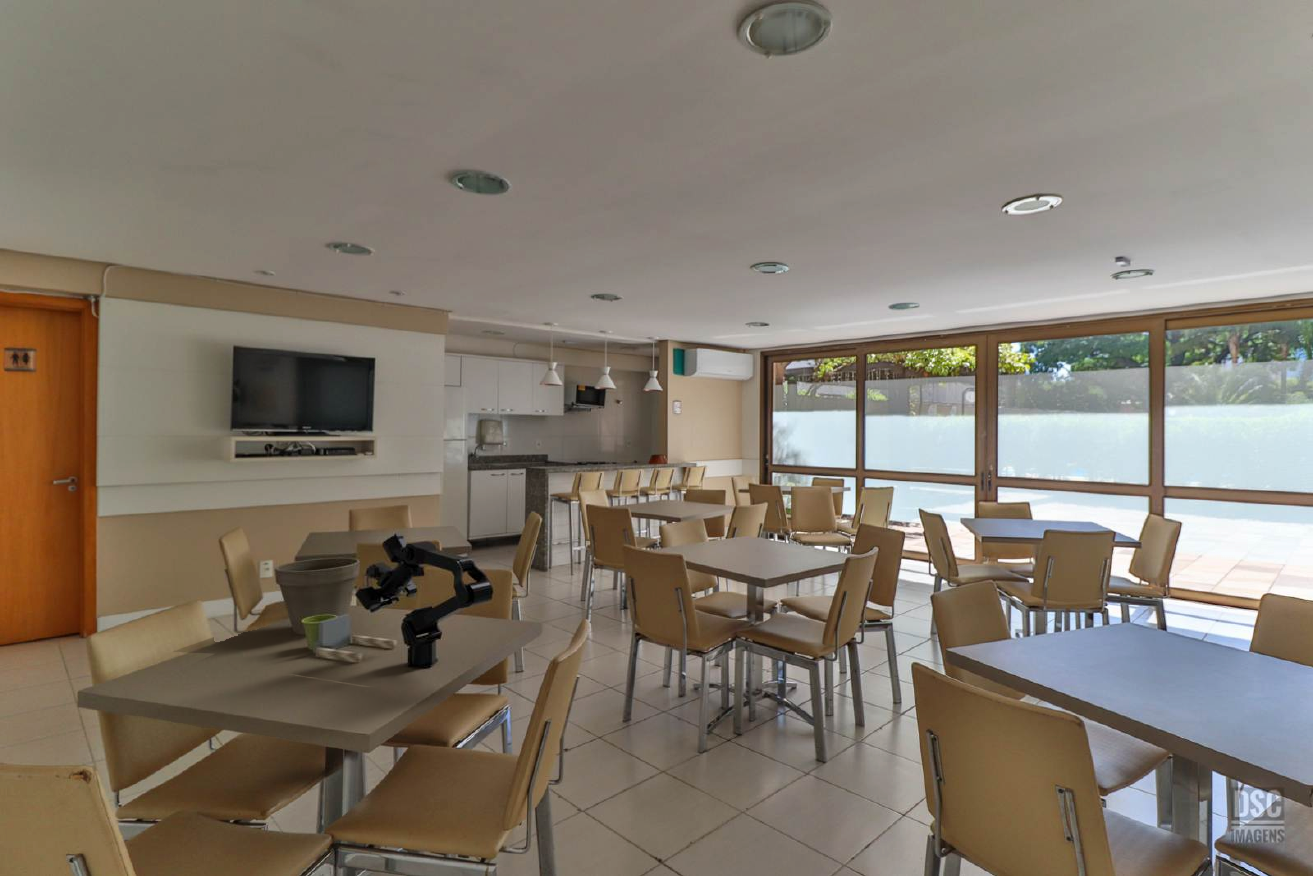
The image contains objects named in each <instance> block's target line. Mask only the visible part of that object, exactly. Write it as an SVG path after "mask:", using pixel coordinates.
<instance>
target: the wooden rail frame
mask: <svg viewBox="0 0 1313 876" xmlns="http://www.w3.org/2000/svg"><path fill="white" fill-rule="evenodd" d="M351 637H352V644H354V645H360V646H368V647H376V648H383V649H391V650H395V649H398V640H397V639H390V638H389V639H388V638H381V637H373V636H367V635H366V636H365V635H358V634H354V635H352V636H351ZM315 657H316V658H321V659H322V658H323V659H329V660H337V661H343V662H352V663H362V662H363V653H362V652H355V651H347V650H339V649H336V650H335V649H327V648H320V647H319V648H316V653H315Z"/></svg>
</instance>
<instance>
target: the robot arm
mask: <svg viewBox="0 0 1313 876" xmlns="http://www.w3.org/2000/svg"><path fill="white" fill-rule="evenodd" d="M381 547H382V548H383V549H384V552H385V553H386V555H387V557H388V558H389V560H390V562H391V563H397V565H396V566H395V567H394V568H392V566H390V565H388V564H387V563H385V562H381V561H380V562H375V563H372V564H370V565H369V566H368V567H367V568H366V570H365V576H367V577H368V578H371V579H374V580H376V581H377V582H376V585H377V586H378V587H379V588H378V587H376V588H374V587H373V585H367V586H364V587H359V588H358V589H357V591H356V592H355V597H356V598H357V599H358V601H359V602H360V604H361V605H362V607H363V608H364V609H365V610H367V611H369V612H370V613H371V614H373V613H377V612H378V611H380V610H382V609H384V608H386V607H388V606H391V605H394V604H396V603H398V602H400V599H399V597H401V596H403V594H404V593H406V595H405V597H406V598H407V599H408V598H409V599H410V598H412V597H414V596H415V595H416V594H417V593H418V588H417V586H416V584H415V583H414V582H413V581H412V580H413V578H418V577H419V578H420V577H425V571H424V566H422V565H428V566H431V567H435V568H438V569H441V570H445V571H448V572H451V574H452V575H453V589H454V591H455V592H454V596H452V597H449V598H448V599H447V600H444V601H442V602H441V603H439V604H438V605H435V606H434V607H433V606H432V605H430V606H424V607H421V608H420V607H419V608H415V609H413V610H412V611H410V612H409V613H406V614H405V617H404V618H403V619H402V620H401V621H402V622H401V625H400V629H401V634H402V639H403V643H404V645H406V647H408V648H407V665H406V668H413V669H414V668H419V669H420V668H424V669H426V668H431V667H432V666H434V665H435V664H436V663H437V662H438V661H439V658H437V640H441V639H442V636H443V635H442V634H443V632H442V630H441V628H440V626H439V623H440V622H442V621H444V620H445V619H447V618H450V617H451V616H453V615H455V614H457V613H459V612H461V611H462V610H464V609H467V608H469V607H474V606H477V605H483V604H486V603H489V602H491V601H492V599H493V595H494V588H493V585H492V583H491V581H490V580H489V578H488V576H487V574H486V573H485V572H484V571H482V570H481V569H480V568H479V567H478V566H477V565H476V564H475V561H474V559H473V558H472V557H468V556H461V555H460V554H459V555H458V554H455V553H451V552H448V551H444V550H440V549H438V548H437V546H436V545H435V544H434V543H432V542H431V541H429V540H424V541H416V542H410V543H408V542H407V540H406V539H405V538H404V534H403V533H402V532H398V533H394V534H393V535H392V536H390V537H387V539H386V540H384V541H382V544H381ZM463 574H467V575H468V576H469V577H470V578H471V579H473V580H474V581H475V582H470V583H465V582H464V581H463Z"/></svg>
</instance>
